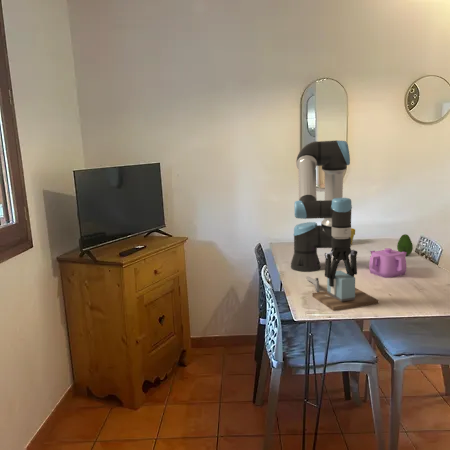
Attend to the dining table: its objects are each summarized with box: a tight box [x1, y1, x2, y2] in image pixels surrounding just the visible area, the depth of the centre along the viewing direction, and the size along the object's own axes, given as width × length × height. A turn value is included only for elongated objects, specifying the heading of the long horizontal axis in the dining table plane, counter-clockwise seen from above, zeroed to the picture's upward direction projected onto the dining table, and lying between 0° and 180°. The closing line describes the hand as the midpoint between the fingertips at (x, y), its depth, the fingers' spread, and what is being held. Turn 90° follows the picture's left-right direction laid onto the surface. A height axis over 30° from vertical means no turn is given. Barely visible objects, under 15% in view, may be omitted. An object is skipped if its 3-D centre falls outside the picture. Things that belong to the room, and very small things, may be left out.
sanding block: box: [326, 270, 356, 302], centre depth 173 cm, size 11×6×9 cm, turn 16°
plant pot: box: [350, 227, 356, 246], centre depth 270 cm, size 10×10×10 cm
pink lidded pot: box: [368, 247, 408, 279], centre depth 207 cm, size 17×17×12 cm
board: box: [311, 287, 379, 311], centre depth 175 cm, size 17×20×2 cm
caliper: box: [305, 276, 320, 293], centre depth 195 cm, size 20×1×6 cm, turn 3°
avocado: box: [396, 233, 414, 257], centre depth 238 cm, size 8×8×12 cm
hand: (340, 292), depth 174 cm, fingers closed on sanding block, 6 cm apart
